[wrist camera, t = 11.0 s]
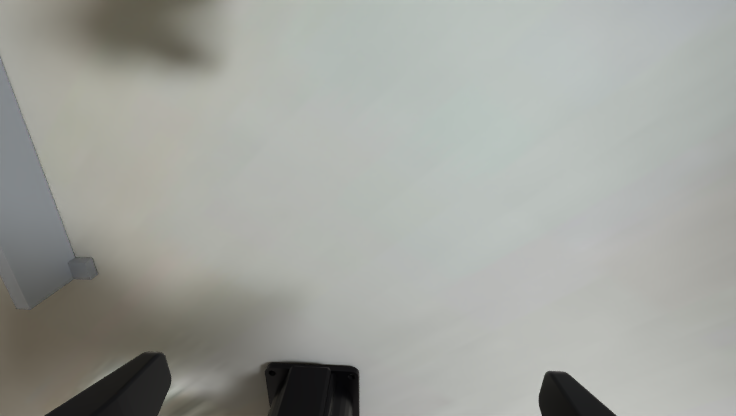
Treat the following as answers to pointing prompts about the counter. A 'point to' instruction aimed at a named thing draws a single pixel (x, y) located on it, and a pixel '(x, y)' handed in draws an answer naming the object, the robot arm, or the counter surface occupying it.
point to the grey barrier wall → (30, 217)
